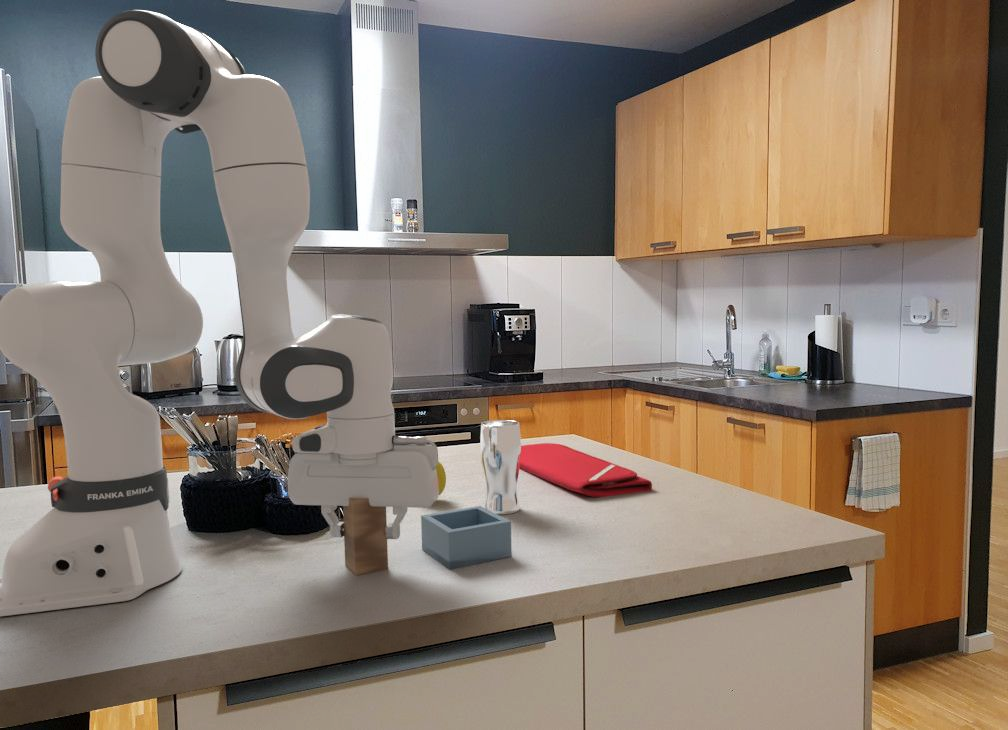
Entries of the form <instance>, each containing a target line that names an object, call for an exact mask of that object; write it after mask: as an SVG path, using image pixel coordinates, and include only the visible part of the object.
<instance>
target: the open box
mask: <svg viewBox="0 0 1008 730" xmlns="http://www.w3.org/2000/svg"><path fill="white" fill-rule="evenodd" d="M420 525H421V550H422V551H423V552H425V553H426V552H427V553H426V554H428V555H429V556H430V557H432V558H433V559H435V560H436V561H437V562H439V563H441V564H442V565H443V566H444V567H446V568H447V569H448V568H449V569H448V570H453V569H457V568H461V567H467V565H468V566H471V565H477V564H482V563H487V562H492V561H496V560H501V559H507V558H510V557H512V521H511V520H509V519H507V518H505V517H503V516H501V515H500V514H495V513H493V512H491V511H489V510H487V509H485V508H484V507H483V506H482V505H478V506H473V507H466V508H459V509H453V510H447V511H439V512H434V513H429V514H424V515H423V514H422V515H420ZM491 560H492V561H491ZM486 561H487V562H486Z"/></svg>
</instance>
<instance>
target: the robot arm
mask: <svg viewBox="0 0 1008 730" xmlns="http://www.w3.org/2000/svg"><path fill="white" fill-rule="evenodd" d="M94 50H95V53H94V54H95V56H94V57H95V63H96V68H97V70H98V72H99V75H100V76H95V77H89V78H87V79H84V80H82V81H81V82H79V83H77V85H76V86H75V87H74V89H73V91H72V93H71V95H70V100H69V104H68V108H67V112H66V116H65V117H66V118H65V121H64V129H63V134H62V135H63V136H62V146H61V166H60V169H61V170H60V173H61V174H60V210H59V211H60V212H59V220H60V224H61V226H62V229H63V230H64V233H65V234H66V236H68V237H69V238H70V239H71V241H73V242H74V243H75V244H77V245H78V246H80V247H82V248H84V249H85V250H87V251H89V252H90V253H91V254H92V255H93V256H94V258H95V259H96V262H97V264H98V268H99V272H100V281H80V280H79V281H77V280H76V281H75V280H74V281H73V280H52V281H46V282H40V283H39V282H38V283H33V284H28V285H24V286H20V287H15V288H12V289H10V290H8V292H7V293H6V294H4V295H3V297H2V299H1V300H0V351H1V353H2V354H3V355H4V356H5V358H6V359H8V361H10V363H12V364H13V365H14V366H16V367H18V368H19V369H22V370H24V371H25V372H26V373H28V374H29V375H30V376H31V377H33V378H34V379H36V381H37V382H38V383H40V385H41V386H42V387H43V388H44V389H45V391H46V393H48V394H49V397H50V398H51V399H52V401H53V403H54V405H55V407H56V409H57V412H58V414H59V416H60V417H59V418H60V421H61V425H62V430H63V431H62V433H63V436H64V438H63V439H64V446H65V453H66V462H67V463H66V464H67V474H68V475H67V476H65V477H62V476H60V475H59V476H58V475H57V476H53V477H52V478H50V480H49V481H48V485H47V489H48V491H49V493H50V503H51V507H52V509H50V510H49V511H48V512H47V513H46V514H45V515H43V516H42V517H41V518H39V520H37V521H36V522H35V523H33V524H32V525H31V526H30V527H28V529H27V530H25V531H24V532H23V533H21V534H20V535H19V536H18V537H17V538H16V539H15V540H14V541H13V542H12V543H11V545H10V546H9V548H8V550H7V552H6V554H5V557H4V563H3V565H2V566H3V567H2V572H1V577H0V617H6V616H14V615H22V614H32V613H39V612H46V611H47V612H48V611H55V610H56V611H57V610H63V609H71V608H79V607H81V608H82V607H87V606H97V605H104V604H105V605H106V604H111V603H113V604H114V603H119V602H127V601H130V600H134V599H136V598H137V597H139V596H140V595H142V594H143V593H145V592H146V591H148V590H151V589H153V588H155V587H157V586H160V585H163V584H165V583H167V582H169V581H170V580H172V579H174V578H176V577H177V576H178V575H179V574H180V573H181V571H182V570H183V565H182V563H181V561H180V558H179V555H178V553H177V549H176V546H175V543H174V538H173V534H172V529H171V525H170V520H169V515H168V509H169V503H170V487H169V484H170V483H169V475H168V472H167V469H166V467H165V466H164V463H163V448H162V447H163V445H162V430H161V429H162V428H161V417H160V414H159V412H158V411H157V408H155V406H154V405H153V404H151V403H150V402H149V401H147V400H146V399H144V398H143V397H140V396H138V395H136V394H133V393H130V392H129V391H128V388H126V386H125V385H124V383H123V381H122V378H121V374H120V371H119V367H121V366H122V367H123V366H131V365H133V366H134V365H141V364H143V365H144V364H155V363H156V364H157V363H160V362H161V363H162V362H165V361H167V360H171V359H174V358H177V357H181V356H183V355H186V354H188V353H190V352H192V351H193V350H194V349H195V348H196V347H197V345H198V343H199V341H200V339H201V336H202V333H203V328H204V317H203V313H202V310H201V309H202V308H201V307H200V305H199V303H198V301H197V299H196V298H195V297H194V295H192V294H193V293H191V292H189V291H188V290H187V289H186V287H184V286H183V285H182V284H181V283H180V281H179V280H178V279H177V278H176V276H175V274H174V273H173V271H172V268H171V266H170V264H169V261H168V259H167V256H166V253H165V250H164V246H163V243H162V242H163V241H162V232H161V182H162V156H163V155H162V151H163V145H164V143H165V140H166V138H167V136H168V135H169V133H170V132H172V131H173V130H175V131H177V132H178V133H180V134H183V135H184V134H185V135H186V134H189V133H195V132H199V131H202V132H203V134H204V135H205V138H206V141H207V144H208V148H209V153H210V160H211V167H212V168H211V169H212V173H213V179H214V184H215V185H214V186H215V191H216V195H217V200H218V205H219V209H220V212H221V215H222V220H223V223H224V227H225V230H226V234H227V238H228V242H229V245H230V249H231V253H232V257H233V262H234V265H235V273H236V274H235V275H236V281H237V282H236V283H237V290H238V298H239V306H240V307H239V309H240V314H241V315H240V316H241V324H242V344H241V349H240V352H239V355H238V359H237V363H236V367H235V371H234V372H235V374H234V377H235V378H234V379H235V385H236V387H237V391H238V393H239V395H240V397H241V398H242V399H243V400H244V402H245V403H247V404H248V405H249V406H250V407H252V408H253V409H255V410H257V411H259V412H263V413H266V414H273V415H274V416H278V417H281V418H285V419H288V420H302V419H306V418H310V417H313V416H317V415H322V414H324V413H325V414H326V421H327V422H326V424H322V425H319V426H318V425H317V426H316V427H315V428H313V429H309V430H306V431H304V432H302V433H300V434H298V435H296V436H294V437H293V439H292V440H291V446H292V451H293V452H295V454H294V455H293V456H292V457H291V459H290V461H289V464H288V474H287V475H288V476H287V492H288V493H287V495H288V498H289V499H290V501H291V502H292V503H293V504H294V505H298V506H299V505H300V506H302V505H303V506H321V507H320V510H321V515H322V516H323V518H324V519H325V521H326V522H327V524H328V525H329V531H330V532H329V533H330V538H344V521H340V519H339V518H338V515H337V514H336V512H335V510H336V509H338V507H339V506H341V507H343V506H349V498H369V503H370V505H371V506H373V507H386V508H392V514H393V515H394V516H395V515H396V517H395V519H394V520H393V522H391V523H390V522H389V523H387V526H386V527H385V530H386V533H387V534H386V539H387V540H399V538H400V536H401V523H402V522H403V520H404V518H405V516H406V515H407V512H408V508H419V509H421V508H422V509H424V508H425V509H427V508H430V507H431V506H433V504H435V502H436V501H437V500H438V498H439V497H440V495H439V485H438V477H437V471H436V466H437V464H438V461H439V450H438V447H437V445H436V443H435V442H433V440H430V439H428V438H427V437H426V436H421V435H420V436H419V435H418V436H406V435H403V436H402V435H400V436H399V435H396V427H395V423H396V421H395V407H394V405H393V402H392V395H391V394H392V387H393V383H394V369H393V368H394V367H393V355H392V347H391V342H390V341H391V340H390V336H389V332H388V329H387V327H386V326H385V324H383V323H382V322H381V321H380V320H378V319H376V318H372V317H369V316H368V317H367V316H361V315H356V314H346V313H335V314H332V315H330V316H328V318H327V319H326V321H324V322H322V323H321V324H320V325H319V326H316V327H315V328H313V329H312V330H310V331H308V332H306V333H304V334H302V335H300V336H298V337H295V336H294V333H293V329H292V322H291V321H292V320H291V319H292V318H291V311H290V302H289V293H288V283H287V271H288V263H289V261H290V258H291V255H292V252H293V251H294V248H295V246H296V245H297V243H298V241H299V239H300V238H301V236H302V234H304V231H306V228H307V227H308V224H309V222H310V221H309V220H310V208H311V206H310V205H311V186H310V177H309V172H308V165H307V159H306V153H305V149H304V147H305V146H304V142H303V139H302V135H301V131H300V128H299V122H298V120H297V117H296V113H295V110H294V107H293V105H292V101H291V98H290V97H289V95H288V93H287V90H286V89H284V88H283V86H282V85H280V83H278V82H277V81H275V80H274V79H270V78H268V77H265V76H262V75H256V74H248V73H247V72H246V69H245V68H244V66H243V65H242V63H241V62H240V60H239V59H238V58H237V56H235V55H234V53H233V52H232V51H230V50H229V49H228V48H226V47H225V46H222V45H221V44H219V43H218V42H216V41H215V40H214V39H212V38H211V37H209V36H208V35H206V34H205V33H203V32H202V31H200V30H199V29H196V28H193V27H190V26H187V25H184V24H181V23H179V22H177V21H175V20H173V19H172V18H170V17H168V16H167V15H164V14H162V13H159V12H154V11H150V10H143V9H133V10H126V11H122V12H120V13H118V14H115V15H114V16H112V17H111V18H109V20H108V21H106V23H105V24H104V25H103V27H102V28H101V30H100V32H99V33H98V36H97V40H96V43H95V49H94Z"/></svg>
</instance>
